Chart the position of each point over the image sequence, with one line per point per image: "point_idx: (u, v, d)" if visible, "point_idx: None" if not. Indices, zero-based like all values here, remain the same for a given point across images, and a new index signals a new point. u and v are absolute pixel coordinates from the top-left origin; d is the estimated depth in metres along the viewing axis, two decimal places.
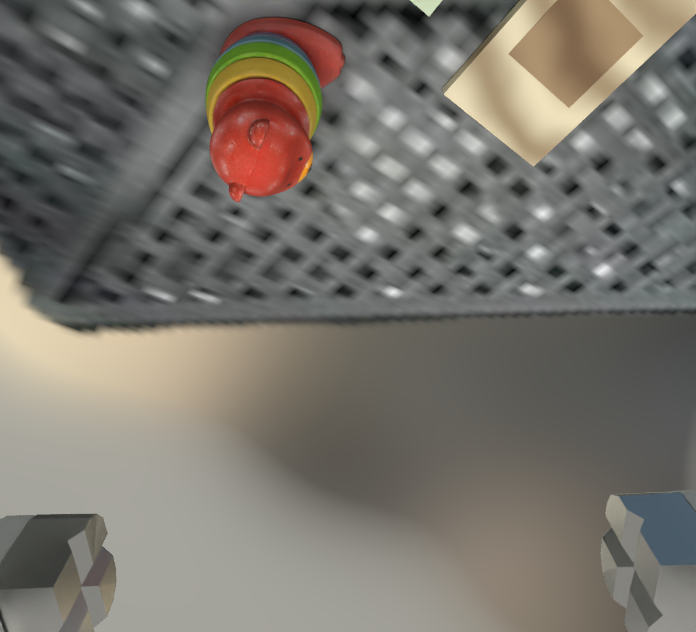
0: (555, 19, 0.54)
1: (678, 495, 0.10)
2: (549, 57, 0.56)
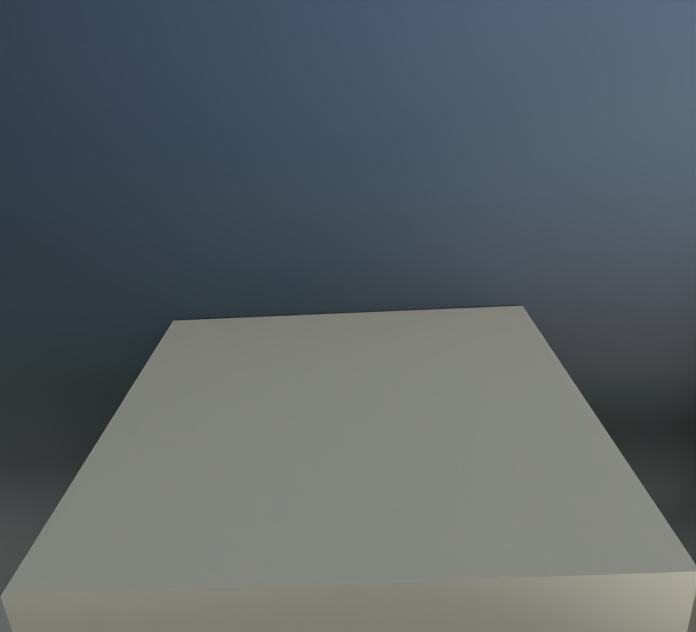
0: None
1: None
2: None
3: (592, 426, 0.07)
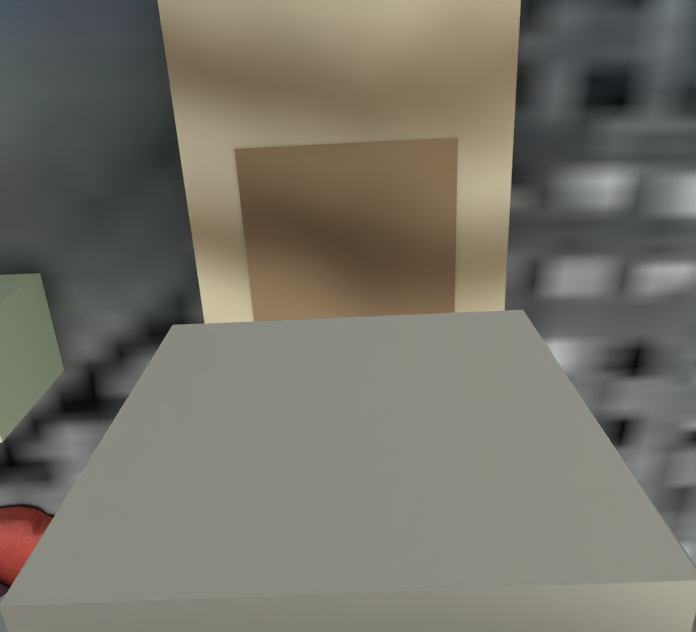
0: (274, 246, 0.25)
1: None
2: (328, 301, 0.25)
3: (593, 432, 0.07)
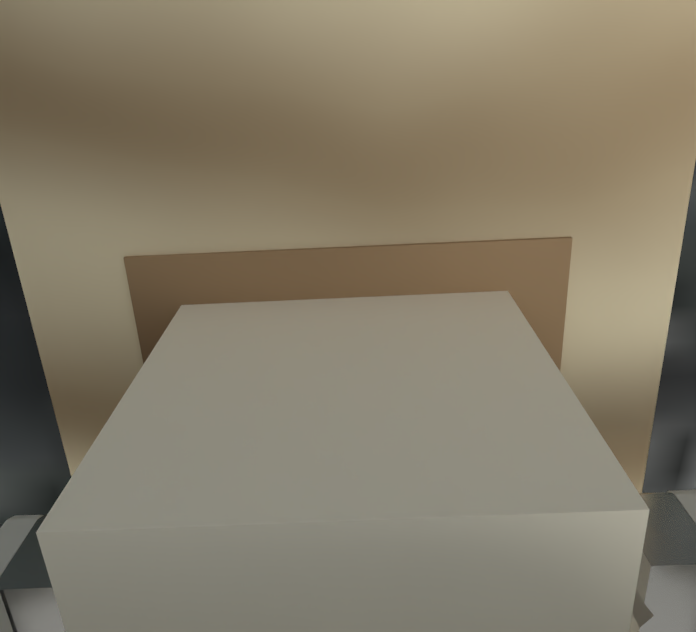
0: None
1: (670, 495, 0.10)
2: None
3: (564, 393, 0.08)
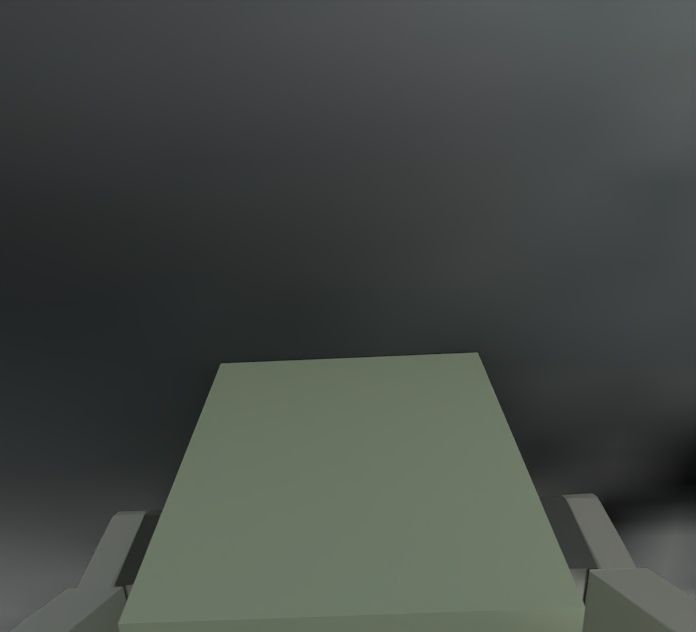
0: None
1: (560, 500, 0.10)
2: None
3: None
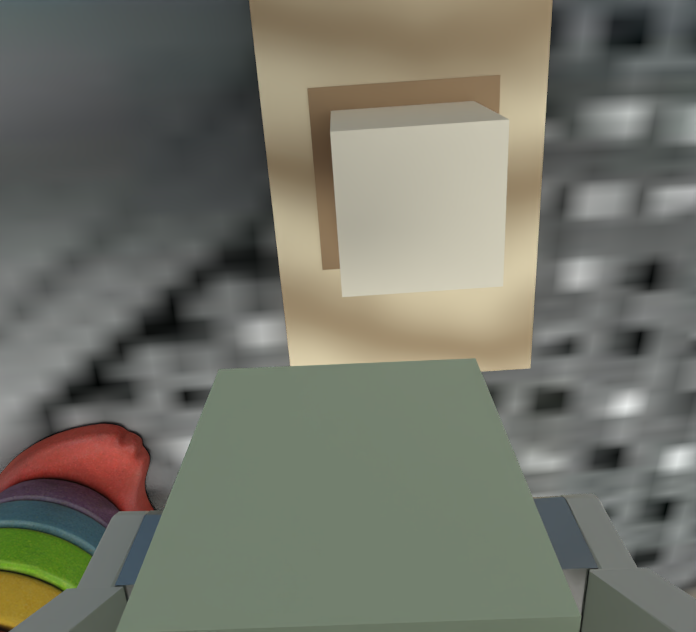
0: None
1: (560, 500, 0.10)
2: None
3: (490, 111, 0.23)
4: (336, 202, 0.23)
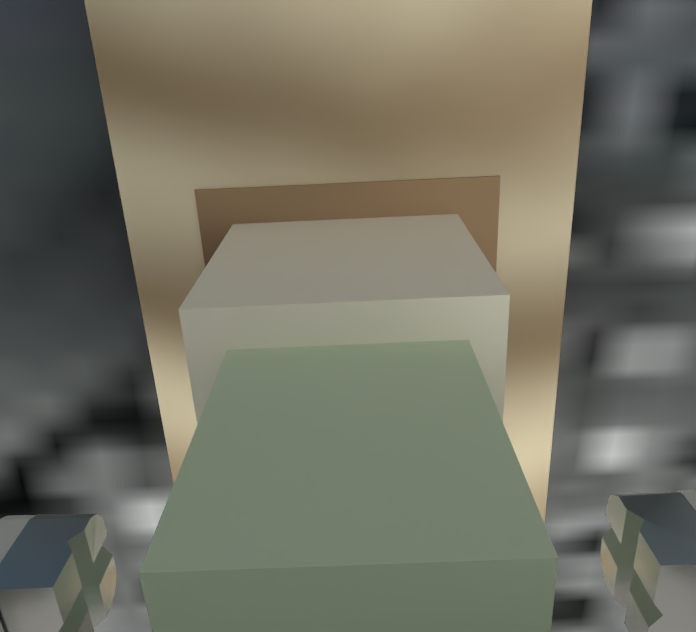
0: None
1: (678, 495, 0.10)
2: None
3: (479, 256, 0.14)
4: None
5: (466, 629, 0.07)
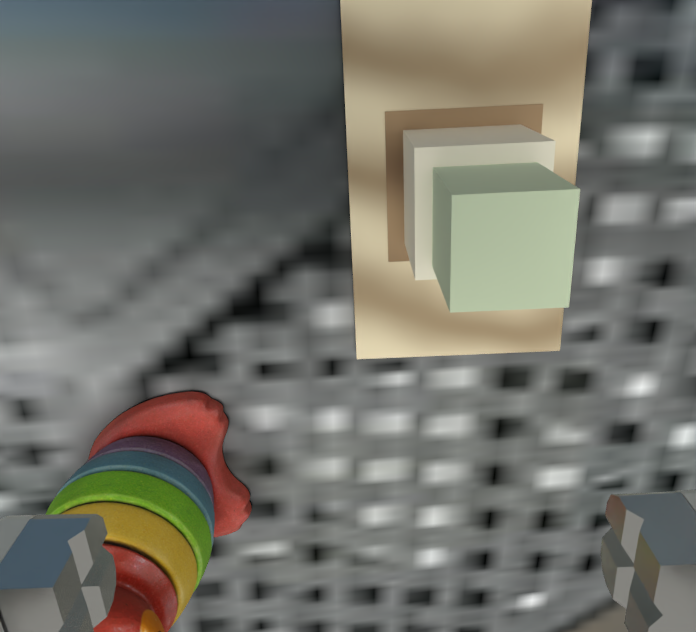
0: None
1: (678, 495, 0.10)
2: None
3: (538, 133, 0.29)
4: (415, 203, 0.28)
5: (550, 218, 0.23)
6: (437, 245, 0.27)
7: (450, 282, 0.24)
